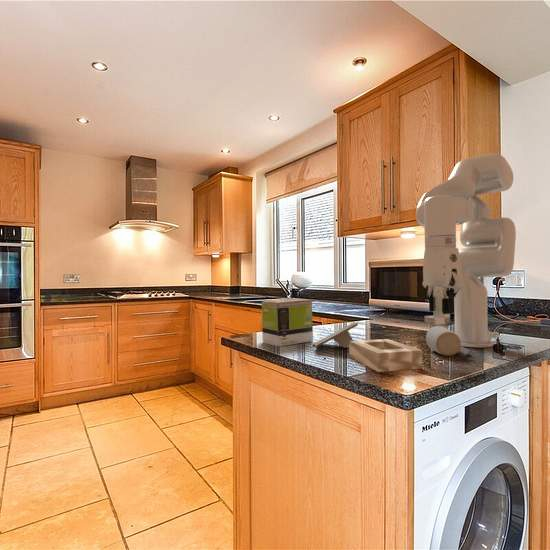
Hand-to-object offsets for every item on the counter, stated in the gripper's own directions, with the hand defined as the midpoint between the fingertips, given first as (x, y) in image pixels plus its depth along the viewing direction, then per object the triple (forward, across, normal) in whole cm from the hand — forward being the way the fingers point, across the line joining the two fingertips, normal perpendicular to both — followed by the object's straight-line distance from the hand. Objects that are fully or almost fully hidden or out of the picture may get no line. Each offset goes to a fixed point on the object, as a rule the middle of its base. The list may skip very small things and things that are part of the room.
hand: (441, 311), depth 96 cm
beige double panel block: (+14, +24, +21) cm, 34 cm away
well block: (+13, +3, +16) cm, 21 cm away
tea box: (+13, +37, +33) cm, 51 cm away
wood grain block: (+3, 0, +1) cm, 3 cm away
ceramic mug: (+14, +8, -8) cm, 18 cm away
